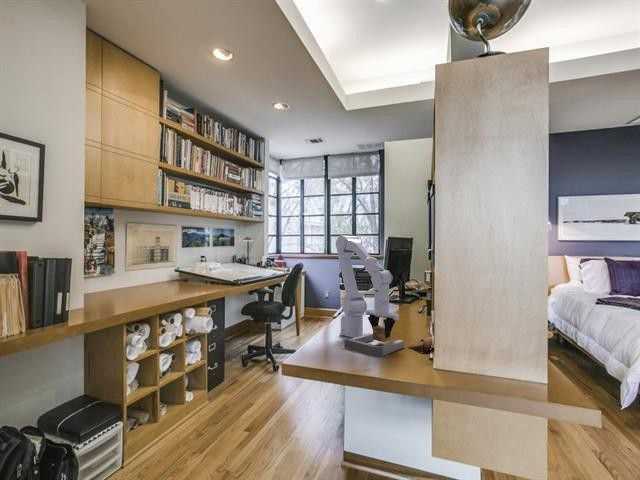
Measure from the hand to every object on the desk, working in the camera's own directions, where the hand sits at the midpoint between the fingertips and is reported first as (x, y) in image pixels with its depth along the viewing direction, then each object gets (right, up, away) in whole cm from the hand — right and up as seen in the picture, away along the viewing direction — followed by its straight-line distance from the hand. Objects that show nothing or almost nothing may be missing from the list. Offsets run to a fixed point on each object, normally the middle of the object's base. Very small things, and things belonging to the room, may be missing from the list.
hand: (381, 335), depth 125 cm
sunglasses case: (+18, -4, -2) cm, 18 cm away
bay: (-3, -3, -3) cm, 5 cm away
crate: (0, -2, 0) cm, 2 cm away
